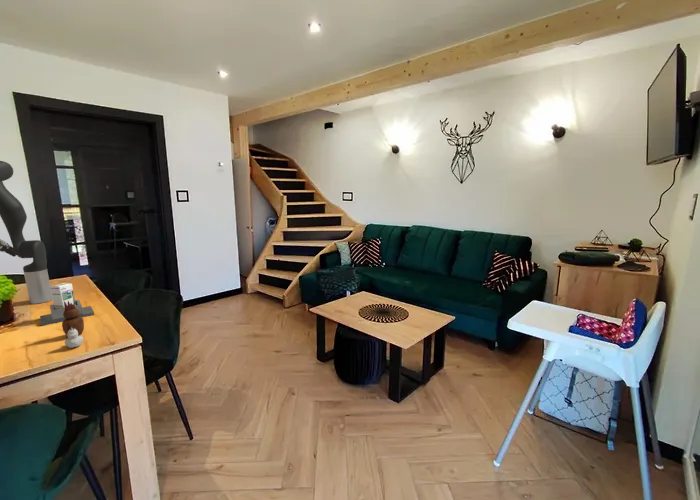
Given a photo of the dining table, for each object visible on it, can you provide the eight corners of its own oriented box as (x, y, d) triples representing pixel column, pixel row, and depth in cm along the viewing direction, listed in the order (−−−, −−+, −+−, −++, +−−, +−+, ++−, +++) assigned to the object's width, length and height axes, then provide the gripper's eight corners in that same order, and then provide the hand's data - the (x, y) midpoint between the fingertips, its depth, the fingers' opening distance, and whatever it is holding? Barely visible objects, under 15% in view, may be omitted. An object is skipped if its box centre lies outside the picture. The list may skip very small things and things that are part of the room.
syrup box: (65, 316, 156) (59, 286, 153) (55, 316, 157) (49, 285, 155) (77, 312, 162) (72, 283, 159) (67, 311, 163) (62, 282, 160)
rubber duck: (65, 351, 124) (61, 331, 123) (66, 345, 129) (62, 325, 128) (84, 347, 127) (80, 327, 126) (83, 341, 132) (80, 321, 131)
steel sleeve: (40, 318, 158) (38, 306, 157) (90, 308, 171) (89, 297, 170) (40, 326, 149) (38, 313, 148) (94, 314, 161) (92, 303, 160)
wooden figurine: (67, 339, 134) (61, 303, 131) (62, 336, 137) (55, 301, 134) (87, 333, 140) (82, 298, 137) (81, 330, 143) (76, 296, 140)
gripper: (-20, 225, 140) (23, 249, 150) (-17, 223, 150) (24, 245, 160) (-37, 239, 137) (9, 262, 147) (-32, 236, 148) (10, 258, 157)
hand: (16, 253), depth 153 cm, fingers open, 8 cm apart
